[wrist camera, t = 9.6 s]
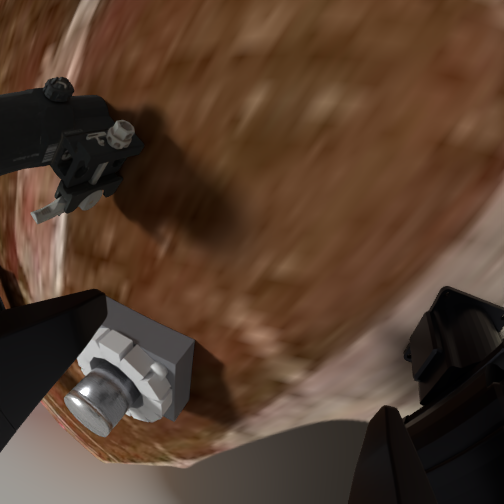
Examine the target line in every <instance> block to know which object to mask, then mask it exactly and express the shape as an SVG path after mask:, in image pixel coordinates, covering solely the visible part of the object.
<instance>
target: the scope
mask: <svg viewBox="0 0 504 504" xmlns="http://www.w3.org/2000/svg"><path fill="white" fill-rule="evenodd" d="M73 92H74V88H73V86H72V84H71V82H69V80H68V79H67V78H64V77H60V78H58V77H56V78H52V79H49V80H48V81H47V82H46V83H45V87H44V88H35V89H29V90H25V91H21V92H14V93H8V94H2V95H0V176H1V175H4V174H7V173H11V172H14V171H18V170H21V169H27V168H34V167H40V166H47V165H50V166H51V168H52V169H53V171H54V172H55V173H56V175H57V176H58V177H59V178H60V179H61V181H60V183H59V186H58V188H57V191H56V193H55V198H56V200H55V201H54V202H52V203H50V204H49V205H47V206H45V207H44V208H42V209H39V210H36V211H33V212H31V215H32V217H33V218H34V220H35V221H36V223H37V224H39V223H42V222H44V221H46V220H49V219H51V218H53V217H55V216H56V215H58V216H60V215H61V214H62V213H64V212H65V213H67V214H68V213H70V212H72V211H74V210H75V209H76V208H77V207H78V206H79V207H80V208H81V209H82V210H88V209H90V208H92V207H93V206H94V205H95V204H96V203H97V202H98V201H99V199H100V198H101V196H102V190H104V192H103V195H104V196H105V197H109V196H111V195H112V194H113V193H114V192H115V191H116V189H117V188H118V186H119V185H120V183H121V182H122V180H123V178H122V177H118V176H117V175H116V174H115V172H117V171H119V169H120V167H121V166H122V164H123V163H124V161H125V160H126V158H127V157H130V156H134V155H139V153H140V152H141V151H142V149H143V148H144V144H143V142H142V141H141V140H140V139H139V138H138V137H137V136H136V134H135V131H134V127H133V126H132V125H131V124H130V123H129V122H127V121H125V120H119V121H116V123H115V122H114V121H113V120H112V119H111V117H110V116H109V113H108V108H107V105H106V103H105V101H104V100H103V99H102V98H101V97H100V96H97V95H85V96H72V94H73ZM120 123H121V124H120Z"/></svg>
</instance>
